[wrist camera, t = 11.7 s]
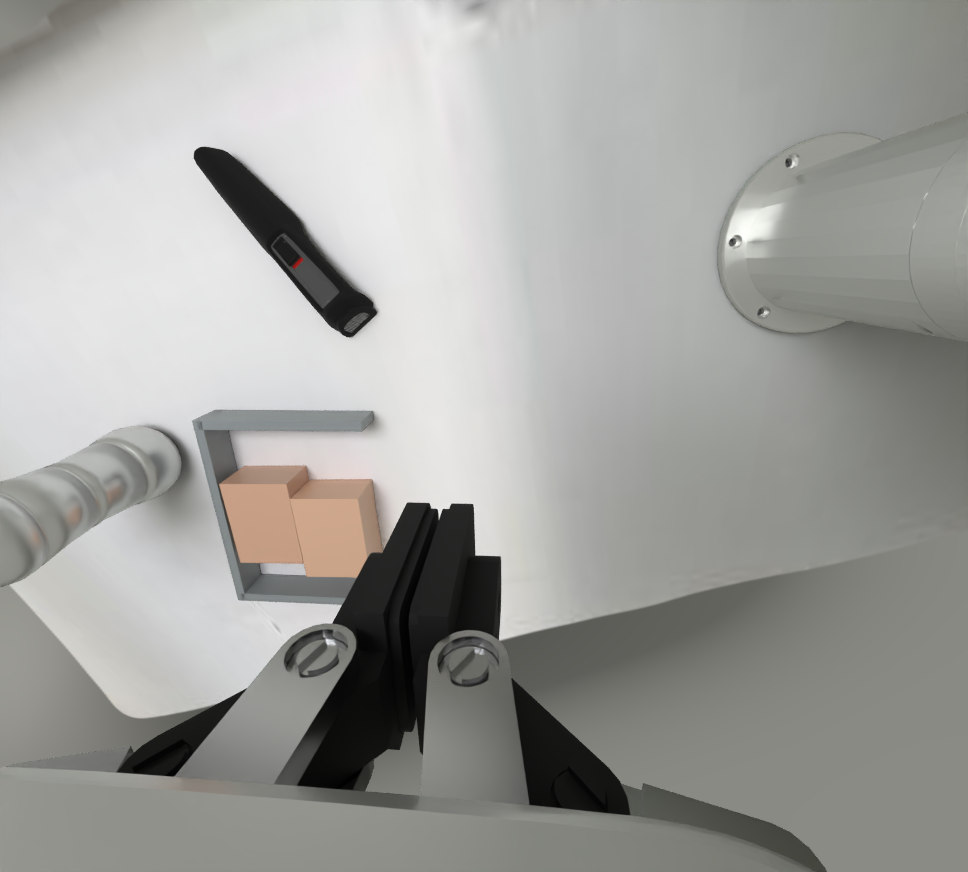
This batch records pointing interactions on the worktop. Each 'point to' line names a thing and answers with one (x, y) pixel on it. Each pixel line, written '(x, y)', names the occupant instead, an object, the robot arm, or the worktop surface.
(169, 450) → the plastic bottle
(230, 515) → the tile
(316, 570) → the tile
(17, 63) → the worktop surface
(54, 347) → the worktop surface
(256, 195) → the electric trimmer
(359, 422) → the organizer bay
